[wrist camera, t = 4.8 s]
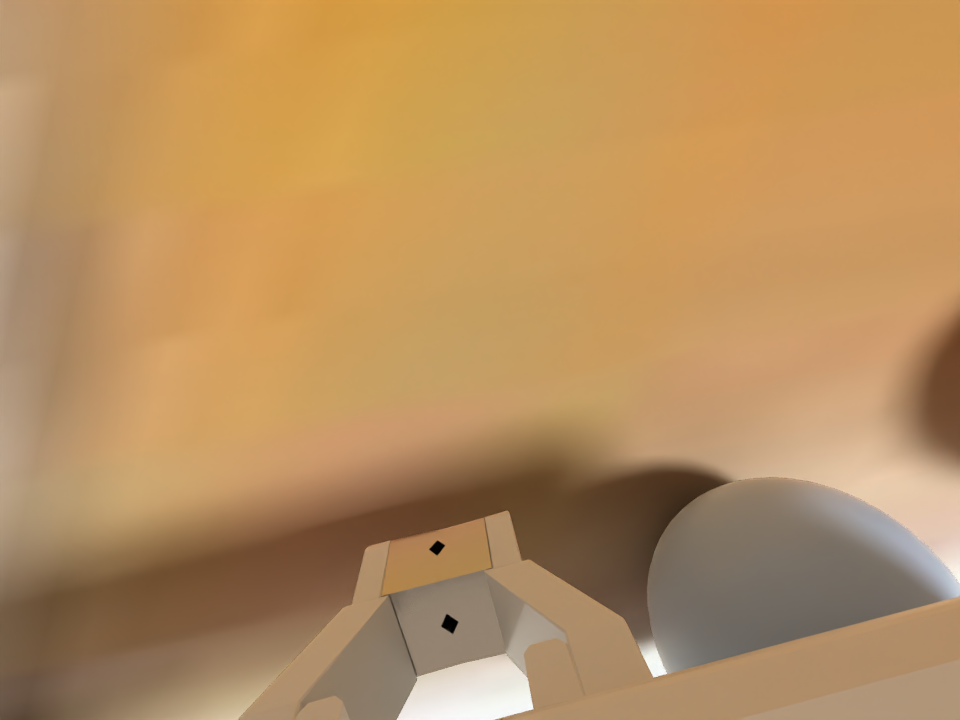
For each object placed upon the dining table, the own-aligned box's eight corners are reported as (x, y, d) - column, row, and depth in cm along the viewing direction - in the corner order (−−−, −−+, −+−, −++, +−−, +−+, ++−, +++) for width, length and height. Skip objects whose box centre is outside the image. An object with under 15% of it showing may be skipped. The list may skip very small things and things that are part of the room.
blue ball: (1250, 829, 5) (925, 411, 9) (707, 811, 6) (624, 443, 10) (973, 807, 9) (832, 527, 13) (675, 798, 10) (625, 541, 14)
